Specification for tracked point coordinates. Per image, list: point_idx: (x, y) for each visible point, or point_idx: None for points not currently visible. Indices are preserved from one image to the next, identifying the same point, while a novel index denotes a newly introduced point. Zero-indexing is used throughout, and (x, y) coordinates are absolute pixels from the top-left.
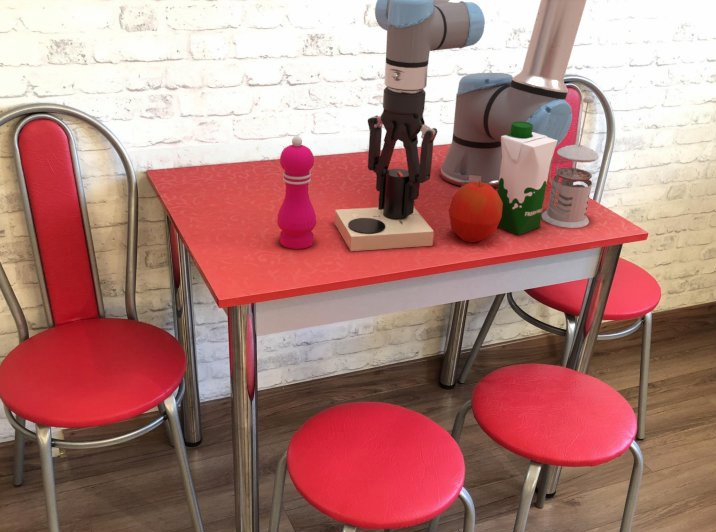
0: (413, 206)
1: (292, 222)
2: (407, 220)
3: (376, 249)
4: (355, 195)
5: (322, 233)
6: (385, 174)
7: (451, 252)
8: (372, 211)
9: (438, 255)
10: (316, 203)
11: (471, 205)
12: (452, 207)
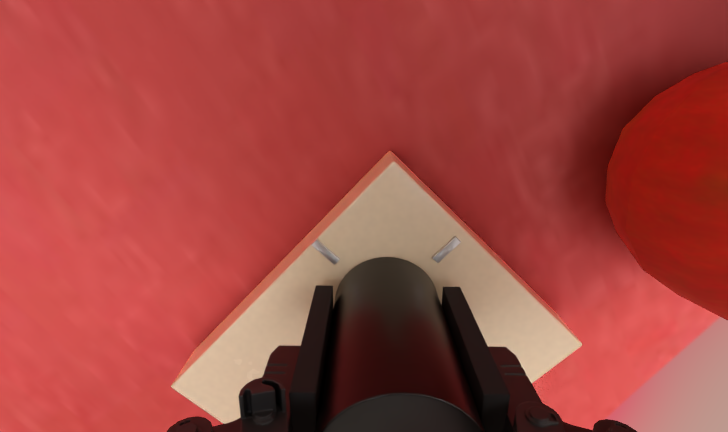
0: (466, 304)
1: None
2: None
3: None
4: (42, 56)
5: (215, 422)
6: (292, 415)
7: (629, 318)
8: (290, 323)
9: (596, 358)
10: (8, 239)
11: None
12: (683, 290)
